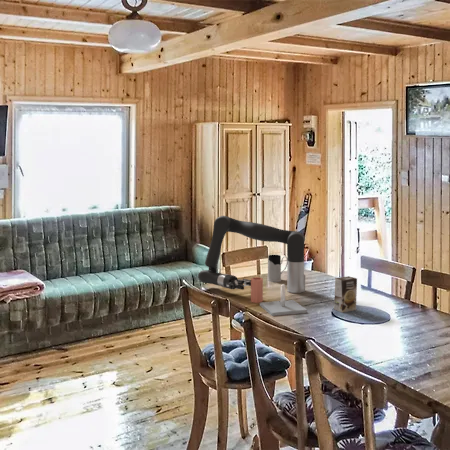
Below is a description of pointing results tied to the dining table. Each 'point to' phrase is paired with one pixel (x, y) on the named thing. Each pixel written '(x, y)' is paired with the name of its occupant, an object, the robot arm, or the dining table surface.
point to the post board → (283, 306)
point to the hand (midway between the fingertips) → (249, 286)
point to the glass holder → (275, 268)
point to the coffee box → (345, 294)
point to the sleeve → (256, 290)
